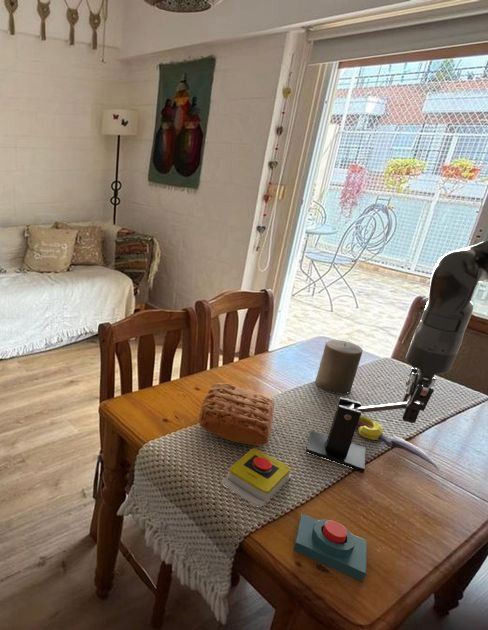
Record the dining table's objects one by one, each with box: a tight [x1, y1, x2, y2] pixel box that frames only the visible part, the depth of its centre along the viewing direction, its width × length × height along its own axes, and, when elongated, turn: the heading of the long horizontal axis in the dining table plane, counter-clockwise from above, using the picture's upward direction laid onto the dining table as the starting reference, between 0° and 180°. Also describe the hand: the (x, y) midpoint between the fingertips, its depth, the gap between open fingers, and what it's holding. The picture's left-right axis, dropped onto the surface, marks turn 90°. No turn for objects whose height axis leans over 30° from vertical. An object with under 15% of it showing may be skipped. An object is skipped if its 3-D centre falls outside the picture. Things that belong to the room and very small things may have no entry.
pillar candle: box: [314, 339, 364, 395], centre depth 133 cm, size 10×10×15 cm
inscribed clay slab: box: [198, 382, 275, 446], centre depth 114 cm, size 22×17×8 cm
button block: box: [292, 513, 368, 583], centre depth 81 cm, size 11×8×4 cm
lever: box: [342, 397, 409, 414], centre depth 99 cm, size 14×5×2 cm, turn 56°
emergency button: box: [221, 447, 292, 508], centre depth 97 cm, size 9×4×15 cm
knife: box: [334, 410, 440, 472], centre depth 111 cm, size 8×3×25 cm
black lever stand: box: [305, 396, 366, 474], centre depth 104 cm, size 12×9×14 cm
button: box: [323, 520, 348, 544], centre depth 80 cm, size 4×4×2 cm
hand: (407, 414), depth 96 cm, fingers closed on lever, 5 cm apart
